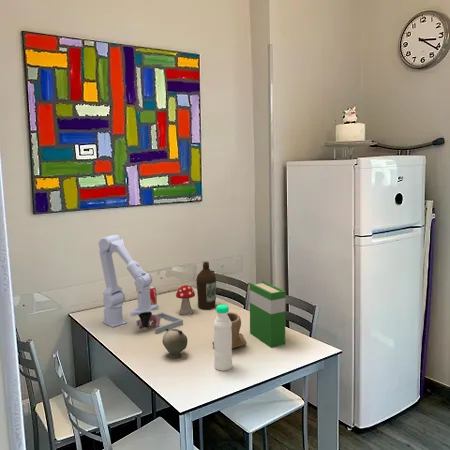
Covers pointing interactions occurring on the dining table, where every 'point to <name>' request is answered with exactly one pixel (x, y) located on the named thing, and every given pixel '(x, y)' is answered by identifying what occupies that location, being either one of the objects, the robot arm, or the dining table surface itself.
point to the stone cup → (236, 330)
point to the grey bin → (175, 323)
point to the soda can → (153, 295)
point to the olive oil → (206, 288)
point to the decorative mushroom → (185, 299)
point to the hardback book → (267, 313)
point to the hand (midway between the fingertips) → (145, 327)
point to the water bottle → (222, 339)
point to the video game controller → (155, 322)
